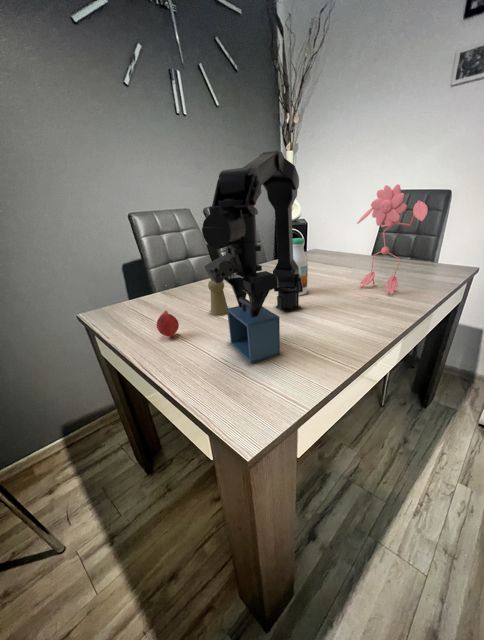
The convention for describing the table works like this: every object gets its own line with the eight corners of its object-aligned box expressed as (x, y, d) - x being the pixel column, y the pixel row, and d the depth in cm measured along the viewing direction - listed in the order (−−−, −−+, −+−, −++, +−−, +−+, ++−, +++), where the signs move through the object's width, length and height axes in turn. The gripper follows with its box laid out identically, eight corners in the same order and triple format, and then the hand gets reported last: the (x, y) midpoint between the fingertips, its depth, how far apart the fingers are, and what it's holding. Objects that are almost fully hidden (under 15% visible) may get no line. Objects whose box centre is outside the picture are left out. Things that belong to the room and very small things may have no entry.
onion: (169, 343, 75) (162, 316, 71) (155, 338, 78) (148, 312, 74) (185, 334, 79) (179, 308, 75) (171, 331, 82) (165, 305, 78)
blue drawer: (254, 290, 70) (225, 296, 66) (279, 303, 60) (246, 310, 57) (257, 336, 76) (230, 343, 73) (280, 354, 67) (250, 364, 64)
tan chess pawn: (225, 315, 91) (221, 282, 85) (208, 314, 92) (203, 282, 87) (230, 308, 96) (227, 277, 90) (214, 308, 97) (210, 277, 92)
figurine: (358, 281, 117) (370, 186, 100) (417, 295, 98) (444, 181, 80) (333, 288, 110) (341, 188, 92) (390, 305, 91) (414, 182, 73)
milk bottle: (294, 297, 103) (294, 241, 93) (283, 292, 109) (283, 238, 99) (310, 293, 106) (313, 238, 96) (299, 288, 112) (300, 236, 102)
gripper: (192, 240, 61) (203, 306, 68) (223, 251, 46) (232, 334, 54) (238, 235, 65) (243, 298, 73) (279, 244, 51) (280, 321, 58)
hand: (248, 311), depth 64 cm, fingers closed on blue drawer, 7 cm apart
